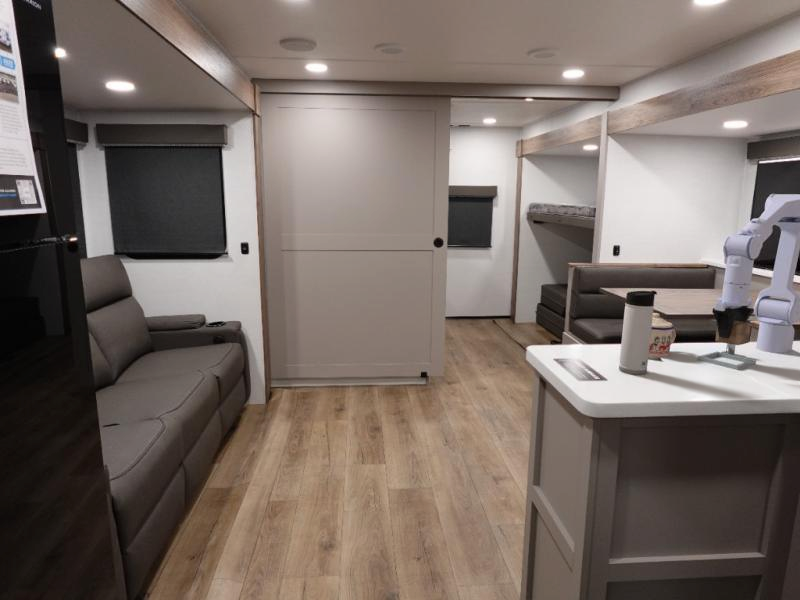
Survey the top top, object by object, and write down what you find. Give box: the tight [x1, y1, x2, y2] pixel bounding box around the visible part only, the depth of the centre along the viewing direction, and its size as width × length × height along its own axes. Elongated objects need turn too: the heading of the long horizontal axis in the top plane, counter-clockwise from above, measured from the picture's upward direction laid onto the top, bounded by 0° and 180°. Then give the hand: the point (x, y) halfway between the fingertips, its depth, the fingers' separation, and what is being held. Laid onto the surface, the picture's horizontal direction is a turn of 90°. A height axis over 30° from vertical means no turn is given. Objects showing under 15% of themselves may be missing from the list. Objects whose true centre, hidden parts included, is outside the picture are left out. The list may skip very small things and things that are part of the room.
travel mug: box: [618, 290, 658, 376], centre depth 130 cm, size 6×7×20 cm
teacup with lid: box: [648, 312, 677, 361], centre depth 146 cm, size 12×9×12 cm
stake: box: [721, 343, 747, 358], centre depth 145 cm, size 6×6×6 cm
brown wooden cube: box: [715, 321, 751, 346], centre depth 136 cm, size 5×5×5 cm
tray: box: [697, 351, 757, 371], centre depth 138 cm, size 10×10×2 cm
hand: (729, 336), depth 137 cm, fingers closed on brown wooden cube, 5 cm apart
